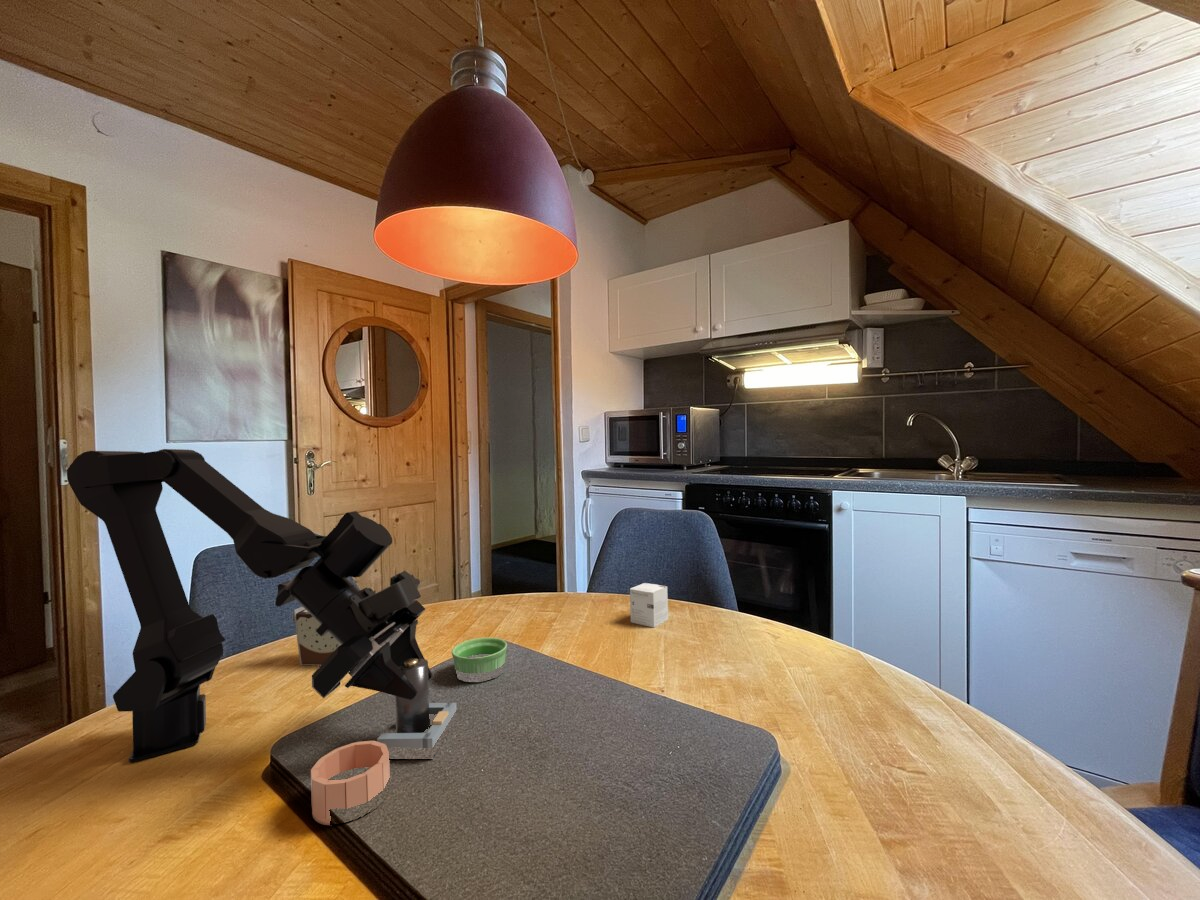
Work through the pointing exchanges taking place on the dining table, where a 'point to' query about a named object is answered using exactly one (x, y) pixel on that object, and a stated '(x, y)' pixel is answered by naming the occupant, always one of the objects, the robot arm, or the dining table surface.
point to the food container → (312, 639)
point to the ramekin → (475, 648)
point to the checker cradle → (423, 739)
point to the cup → (353, 788)
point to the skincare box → (649, 604)
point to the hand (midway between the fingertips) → (422, 687)
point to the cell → (416, 711)
